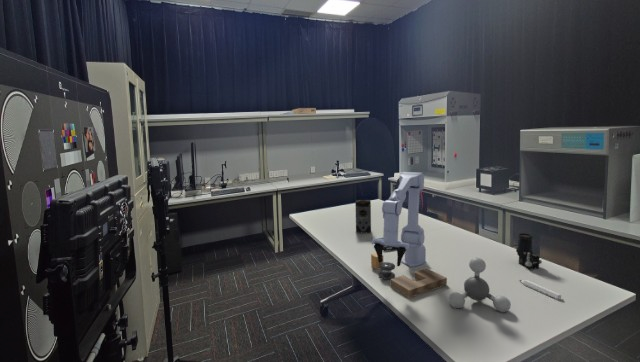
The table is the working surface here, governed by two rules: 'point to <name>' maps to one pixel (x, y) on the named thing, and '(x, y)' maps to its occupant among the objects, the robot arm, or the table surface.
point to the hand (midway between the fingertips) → (389, 263)
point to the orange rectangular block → (375, 261)
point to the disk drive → (388, 247)
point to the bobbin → (386, 271)
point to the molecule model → (478, 289)
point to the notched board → (418, 283)
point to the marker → (541, 289)
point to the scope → (527, 252)
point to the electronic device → (363, 216)
